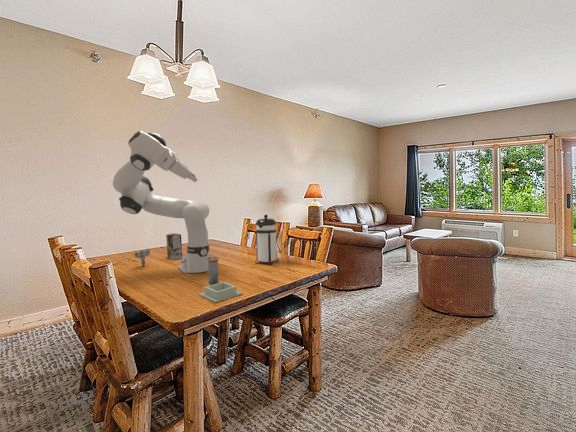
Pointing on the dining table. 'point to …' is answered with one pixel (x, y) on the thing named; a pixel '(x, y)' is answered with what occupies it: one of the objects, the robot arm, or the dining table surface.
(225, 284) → the green square tray
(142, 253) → the mechanical component
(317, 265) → the dining table surface
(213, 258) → the pin
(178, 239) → the coffee box
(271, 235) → the coffee press
